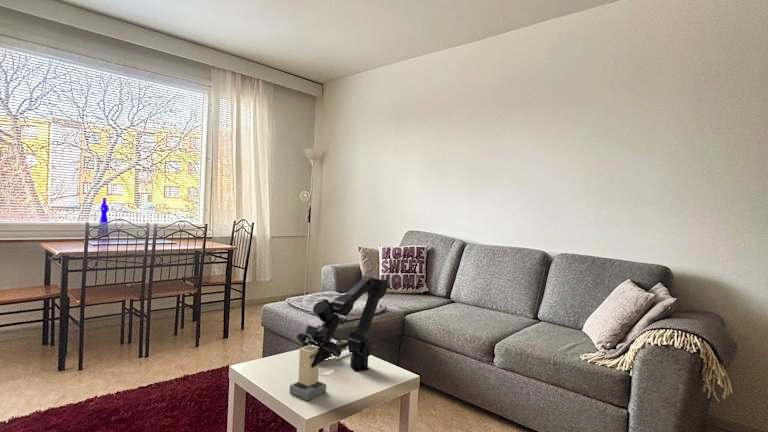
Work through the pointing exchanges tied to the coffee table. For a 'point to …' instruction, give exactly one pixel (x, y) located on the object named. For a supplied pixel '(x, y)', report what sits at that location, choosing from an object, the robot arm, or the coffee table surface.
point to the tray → (307, 390)
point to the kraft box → (308, 365)
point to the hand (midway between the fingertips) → (306, 365)
